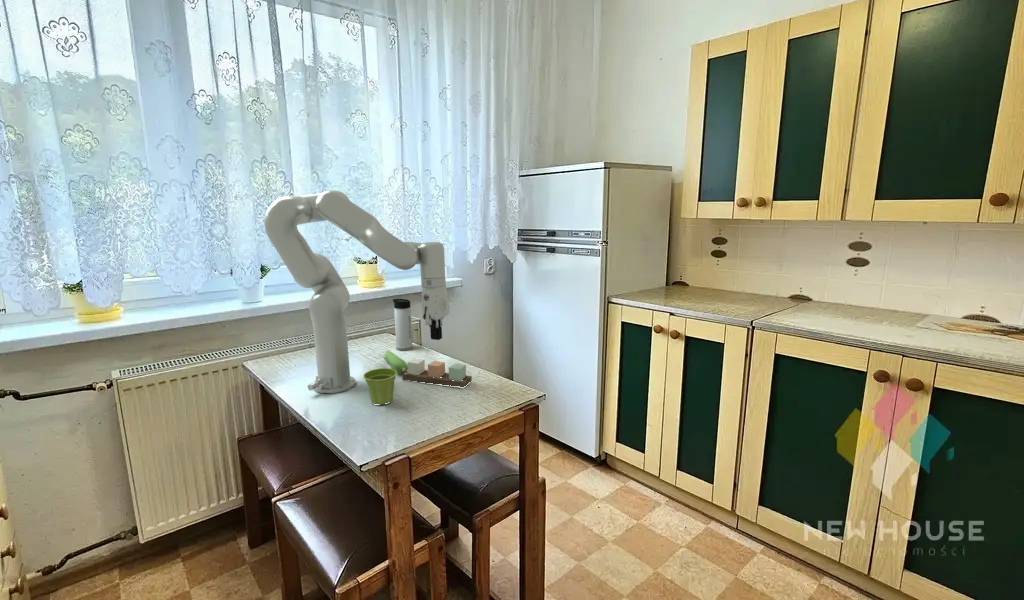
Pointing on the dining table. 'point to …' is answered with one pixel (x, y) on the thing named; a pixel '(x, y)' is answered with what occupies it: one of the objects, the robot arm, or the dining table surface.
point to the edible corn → (396, 362)
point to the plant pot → (380, 384)
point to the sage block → (457, 372)
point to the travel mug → (403, 324)
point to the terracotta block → (436, 369)
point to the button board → (436, 379)
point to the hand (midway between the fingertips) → (436, 338)
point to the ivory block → (416, 366)
